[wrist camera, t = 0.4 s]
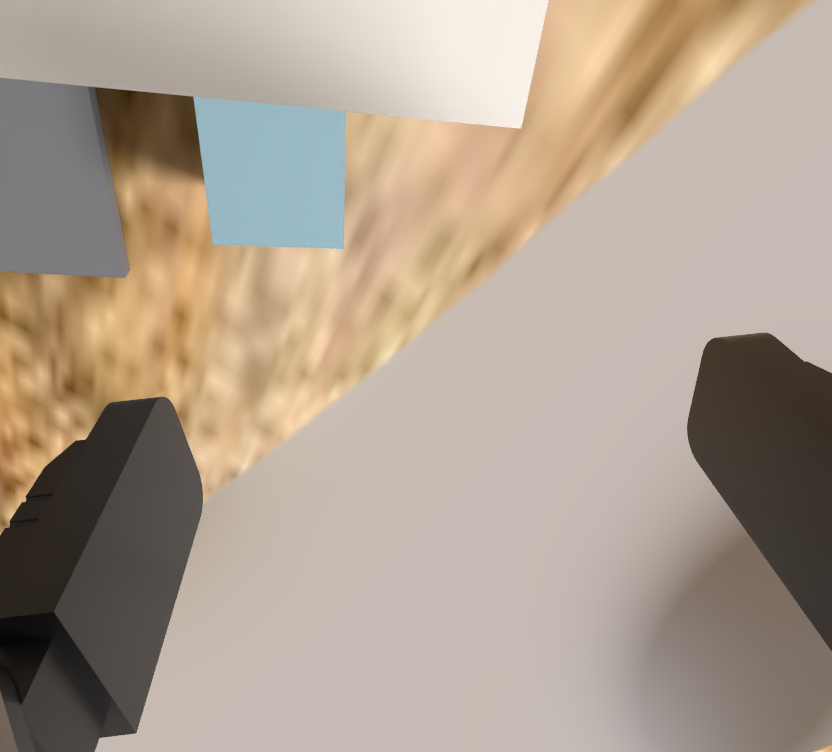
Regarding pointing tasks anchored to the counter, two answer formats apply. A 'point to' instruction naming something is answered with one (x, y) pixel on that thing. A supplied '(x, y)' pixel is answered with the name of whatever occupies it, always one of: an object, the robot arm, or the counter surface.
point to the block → (272, 173)
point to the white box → (289, 52)
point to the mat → (56, 183)
